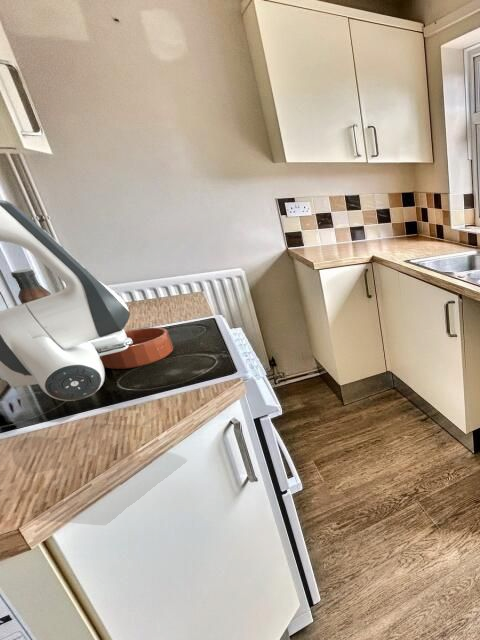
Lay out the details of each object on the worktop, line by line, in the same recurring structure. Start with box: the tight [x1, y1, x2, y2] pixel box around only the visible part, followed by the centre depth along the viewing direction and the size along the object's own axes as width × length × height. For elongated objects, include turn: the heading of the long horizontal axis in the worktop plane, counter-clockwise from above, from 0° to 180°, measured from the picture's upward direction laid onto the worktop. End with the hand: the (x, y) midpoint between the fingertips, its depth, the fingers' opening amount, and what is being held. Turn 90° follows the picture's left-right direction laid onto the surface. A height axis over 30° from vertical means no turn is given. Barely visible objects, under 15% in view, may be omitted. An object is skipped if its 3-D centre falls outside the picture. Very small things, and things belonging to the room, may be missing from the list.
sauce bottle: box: [10, 268, 52, 304], centre depth 116 cm, size 6×6×20 cm
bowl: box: [100, 327, 174, 370], centre depth 106 cm, size 14×14×6 cm
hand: (62, 341), depth 92 cm, fingers open, 8 cm apart
